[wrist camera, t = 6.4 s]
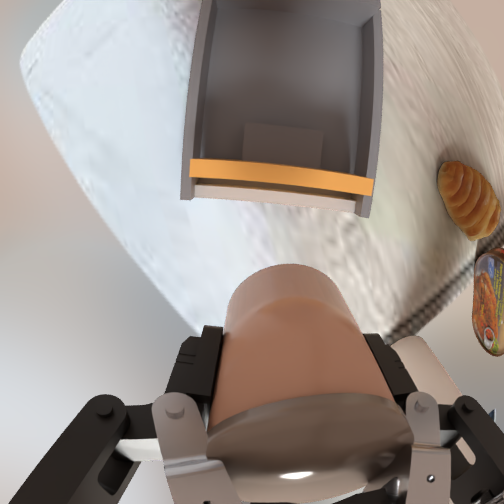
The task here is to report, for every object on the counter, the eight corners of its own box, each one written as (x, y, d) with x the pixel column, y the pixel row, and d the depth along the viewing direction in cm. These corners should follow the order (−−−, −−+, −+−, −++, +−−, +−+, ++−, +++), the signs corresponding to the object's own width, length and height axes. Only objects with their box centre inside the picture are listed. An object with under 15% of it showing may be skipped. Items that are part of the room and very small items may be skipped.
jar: (227, 256, 12) (186, 417, 4) (358, 266, 12) (453, 401, 4) (223, 359, 14) (202, 500, 6) (330, 363, 14) (364, 494, 6)
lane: (210, 2, 17) (201, -25, 12) (368, 23, 17) (388, 2, 12) (190, 193, 23) (173, 203, 19) (355, 209, 24) (377, 223, 19)
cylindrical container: (402, 329, 28) (501, 506, 5) (434, 342, 29) (522, 486, 6) (367, 371, 30) (428, 546, 7) (402, 380, 31) (464, 525, 8)
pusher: (207, 122, 21) (193, 114, 16) (354, 139, 21) (378, 137, 16) (203, 172, 22) (189, 176, 17) (349, 187, 22) (371, 196, 18)
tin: (472, 243, 24) (519, 272, 16) (488, 235, 24) (534, 260, 16) (469, 335, 29) (498, 369, 21) (483, 326, 29) (513, 358, 21)
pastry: (421, 195, 23) (443, 202, 19) (447, 143, 21) (470, 143, 17) (467, 241, 24) (487, 252, 21) (490, 194, 22) (511, 200, 19)
